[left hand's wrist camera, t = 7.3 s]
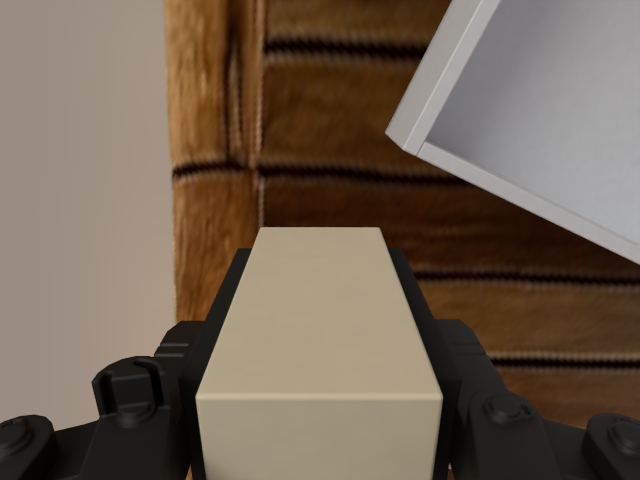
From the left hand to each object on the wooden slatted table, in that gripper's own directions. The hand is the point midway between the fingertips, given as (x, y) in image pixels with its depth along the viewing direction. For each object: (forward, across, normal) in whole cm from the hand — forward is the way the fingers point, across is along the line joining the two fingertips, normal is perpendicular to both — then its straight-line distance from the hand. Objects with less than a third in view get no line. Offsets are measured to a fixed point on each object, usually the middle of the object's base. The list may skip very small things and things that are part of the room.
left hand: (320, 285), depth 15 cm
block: (0, 0, 0) cm, 0 cm away
